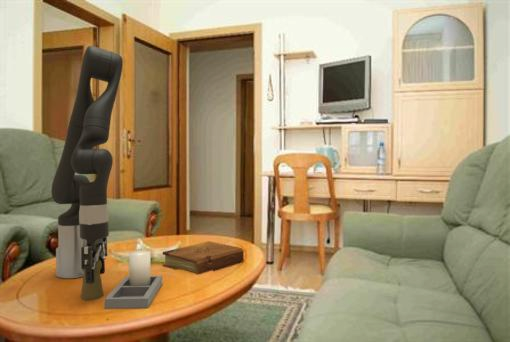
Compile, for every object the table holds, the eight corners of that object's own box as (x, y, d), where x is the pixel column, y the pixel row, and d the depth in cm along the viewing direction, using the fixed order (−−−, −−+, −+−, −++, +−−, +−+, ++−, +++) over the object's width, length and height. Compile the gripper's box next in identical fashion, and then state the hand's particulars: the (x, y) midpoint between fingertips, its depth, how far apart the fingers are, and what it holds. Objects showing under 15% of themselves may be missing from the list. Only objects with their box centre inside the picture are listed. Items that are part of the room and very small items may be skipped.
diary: (197, 278, 130) (197, 261, 130) (162, 267, 142) (162, 252, 142) (243, 262, 148) (243, 247, 148) (209, 254, 160) (209, 240, 160)
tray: (104, 310, 101) (104, 299, 101) (126, 286, 120) (125, 276, 120) (147, 310, 102) (147, 298, 102) (162, 285, 121) (162, 275, 121)
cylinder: (126, 293, 112) (126, 255, 112) (132, 286, 118) (132, 250, 118) (148, 293, 113) (147, 255, 112) (152, 286, 119) (152, 249, 118)
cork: (89, 304, 106) (88, 263, 105) (75, 299, 109) (75, 260, 109) (108, 297, 111) (107, 258, 110) (94, 293, 114) (94, 255, 114)
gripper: (89, 217, 116) (90, 271, 117) (69, 225, 102) (71, 287, 103) (115, 216, 117) (116, 270, 117) (99, 224, 103) (101, 286, 103)
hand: (95, 278), depth 110 cm, fingers open, 8 cm apart
